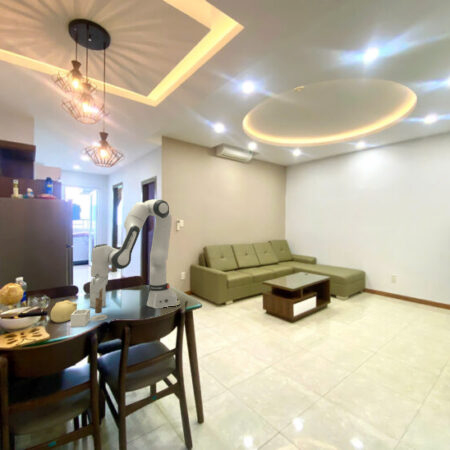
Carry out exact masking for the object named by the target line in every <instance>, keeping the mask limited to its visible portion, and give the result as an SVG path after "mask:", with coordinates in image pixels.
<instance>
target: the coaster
mask: <svg viewBox="0 0 450 450" xmlns="http://www.w3.org/2000/svg"><path fill="white" fill-rule="evenodd" d="M106 319H108V315H107V314H97V315H93V316H90V321H93V322H99V321H103V320H106Z"/></svg>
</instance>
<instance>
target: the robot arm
mask: <svg viewBox="0 0 450 450" xmlns="http://www.w3.org/2000/svg"><path fill="white" fill-rule="evenodd" d="M149 216H152V217H154V218H155V219H154V220H155V222H154V228H153V234H152V240H151V241H152V243H151V251H150V252H149V283H148V298H147V302H146V306H147V307H149V308H153V309H156V310H157V309H158V310H159V309H164V308H163V307H167V308H169V307H168V306H174V305H175V304H177V302H178V301H177V299H178V296H177V293H176V292H175V291H173V290H172V289H171V288H170V287H171V286H170V283H167V261H168V257H169V256H168V255H169V247H170V238H171V230H172V222H173V221H172V220H173V219H172V215H171V213H170V206H169V204H168V202H167V201H165V200H163V199H158V198H157V199H156V198H154V199H147V200H146V199H145V201H143V202H142V201H138V202H137V201H136V202H135V204H134V205H133V206H132V207H131V208H130V210H129V212H128V214H127V215H126V218H125V219H124V223H123V227H124V229H125V232H126V234H125V235H126V236H125V238H124V240H123V241H122V245H121V247H120V249H117V248H114V247H112V246H111V245H108V244H107V243H101V244H97V245H94V247H92V251H91V267H90V277H93V278H91V281H90V283H91V286H90V285H89V293H90V292H91V293H95V295H96V298H99V297H100V294H99V292H100V290H101V289H102V288H103V287H104V286H105V287H106V286H107V285H108V281H109V274H110V272H111V271H110V268H109V266H113V267H114V268H115V269H118V270H124V269H126V268H127V267H128V266H129V265H130V264H131V261H132V253H133V250H134V249H135V246H136V243H137V240H138V238H139V235H140V233H141V230H142V228H143V226H144V224H145V222H146V220H147V219H148V217H149ZM102 292H103V290H102Z"/></svg>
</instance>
